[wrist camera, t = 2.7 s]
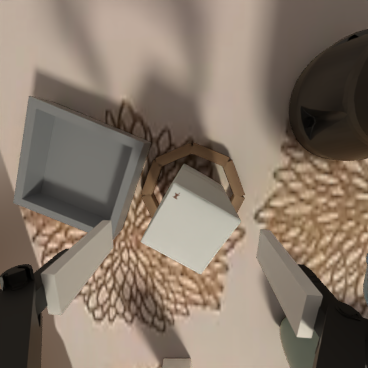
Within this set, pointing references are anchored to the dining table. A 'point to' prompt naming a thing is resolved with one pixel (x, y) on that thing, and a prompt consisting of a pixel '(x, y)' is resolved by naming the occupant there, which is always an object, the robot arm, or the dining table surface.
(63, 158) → the bin
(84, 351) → the dining table surface
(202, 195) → the supplement box
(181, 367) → the milk
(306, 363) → the cup
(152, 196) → the ring
